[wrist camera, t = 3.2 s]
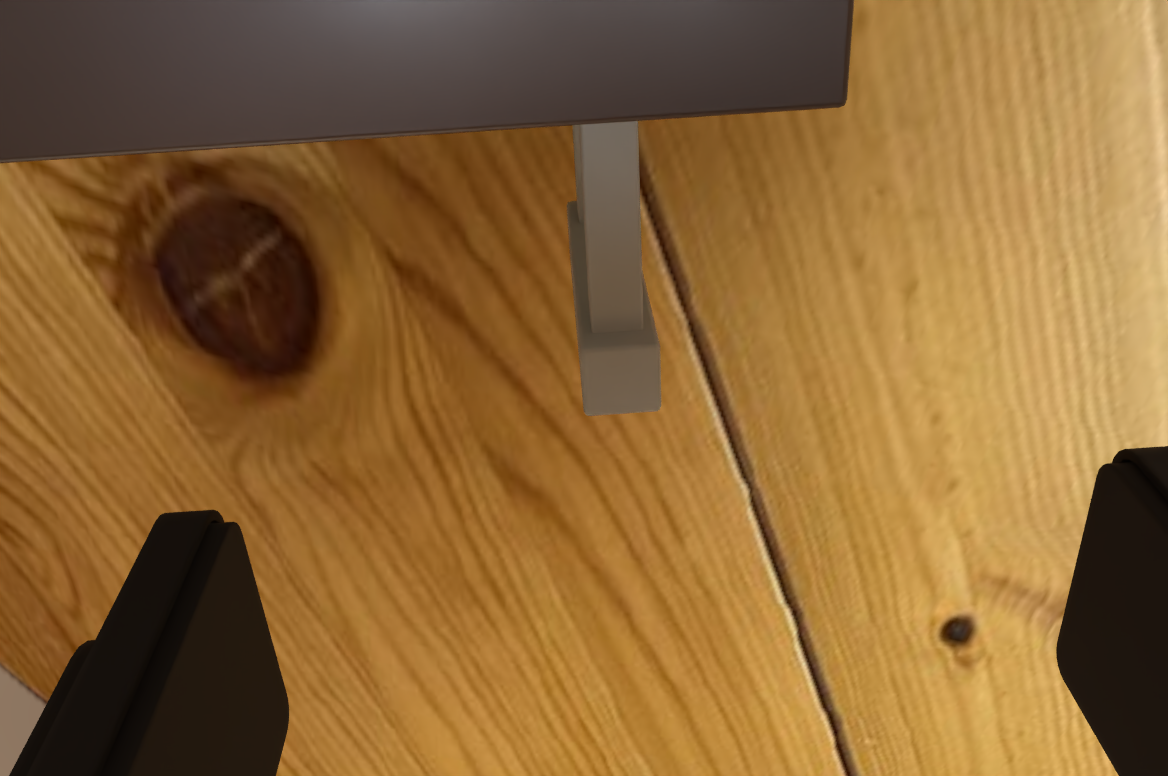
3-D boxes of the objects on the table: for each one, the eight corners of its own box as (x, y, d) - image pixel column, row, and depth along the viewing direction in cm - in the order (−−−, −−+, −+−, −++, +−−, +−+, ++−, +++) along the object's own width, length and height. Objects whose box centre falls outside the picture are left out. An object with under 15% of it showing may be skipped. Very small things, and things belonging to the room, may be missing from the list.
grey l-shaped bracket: (301, 238, 23) (182, 483, 15) (242, -57, 20) (52, 53, 12) (647, 215, 23) (710, 446, 15) (640, -83, 20) (714, 9, 12)
